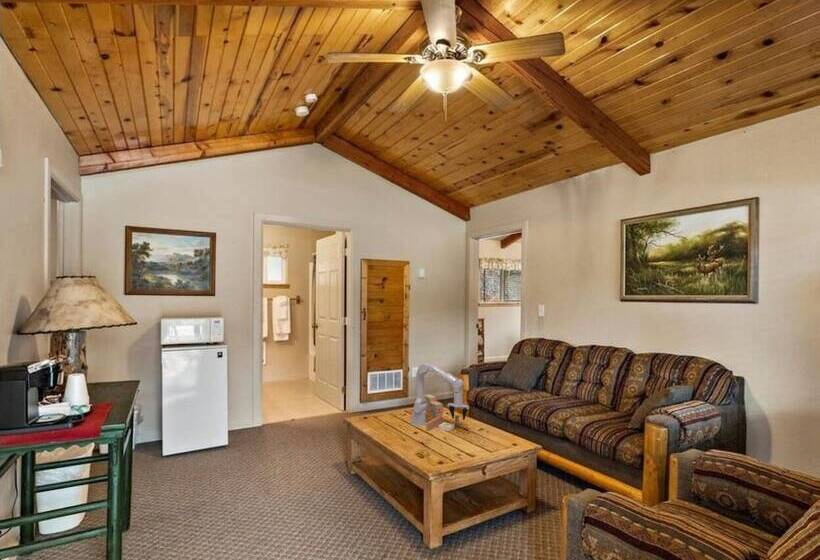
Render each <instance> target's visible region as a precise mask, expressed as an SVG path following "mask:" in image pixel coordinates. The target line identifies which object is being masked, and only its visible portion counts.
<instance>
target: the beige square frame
mask: <svg viewBox="0 0 820 560" xmlns="http://www.w3.org/2000/svg"><path fill="white" fill-rule="evenodd" d="M453 429H455V423H451V422H450V423H449V422H445V421H444V422H442V423H441V424H440V425H438V430H439V431H440V430H442V431H445V432H446V431H447V432H450V431H452V430H453Z"/></svg>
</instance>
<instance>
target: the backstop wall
mask: <svg viewBox="0 0 820 560" xmlns="http://www.w3.org/2000/svg"><path fill="white" fill-rule="evenodd" d="M442 423H443V416H441V415H440V416H437V417H436V416H435V418H432V419H431V420H429V421H428V422H426V432H427V431H428V432H430V431H431V430H434V429H435V428H438V427H439V425H440V424H442Z"/></svg>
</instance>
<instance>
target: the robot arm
mask: <svg viewBox="0 0 820 560" xmlns="http://www.w3.org/2000/svg"><path fill="white" fill-rule="evenodd" d="M427 373H435V374H437V375H438V376H440V377H441V378H443V380H444V381H445V382H447V383H448V385H451V386H452V388H453V403H451V402H450V403H447V407H448V410H449V412H450V416H451V418H452V419H455V408H456V409H461V412H462V421H463V420H466V416H467V413H468V411H469V409H470V405H467V404H464V403H463V402H464V401H463V396H464V395H463V387H464V385H465V383H464V381H463V380H462V378H458V377H455V376H454V375H453V374H452V373H449V372H447V373H446V372H445V371H444V370H442V369H441V368H440V367H438V366H437V365H436V364H435V363H433V362H431V361H427V362H425V363H424V362H423V363H421V364H420V365H419V366H418V369H417V371H416V374H415V375H416V380H415V381H416V399H415V401H414V404H413V411H412V412H411V413H412V414H411V426H417V427H418V426H419V427H423V426H427V422H426V421H427V420H426V419H427V417H426V415H427V412H426V409H427V403H426V399H425V398H424V395H425V375H426V374H427Z"/></svg>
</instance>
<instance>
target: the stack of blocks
mask: <svg viewBox="0 0 820 560" xmlns="http://www.w3.org/2000/svg"><path fill="white" fill-rule="evenodd" d="M424 398H425V399H426V403H427V409H426V414H429V415H432V416H434V417H435V418H436V417H438V416H440V415H441V416H442V417H443V416H444V413H443V412H444V404H443V403H441V402H440V401H438V399H437V398H438V397H437V396H435V395H432V394H429V393H427V394H426V393H425V394H424Z"/></svg>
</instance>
